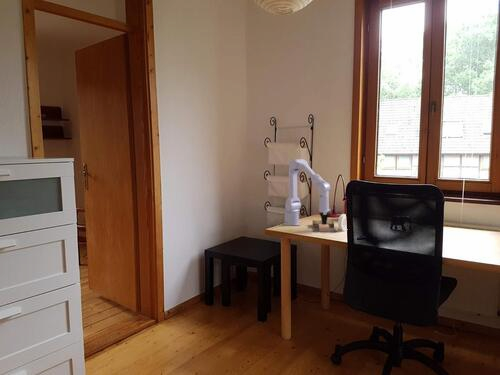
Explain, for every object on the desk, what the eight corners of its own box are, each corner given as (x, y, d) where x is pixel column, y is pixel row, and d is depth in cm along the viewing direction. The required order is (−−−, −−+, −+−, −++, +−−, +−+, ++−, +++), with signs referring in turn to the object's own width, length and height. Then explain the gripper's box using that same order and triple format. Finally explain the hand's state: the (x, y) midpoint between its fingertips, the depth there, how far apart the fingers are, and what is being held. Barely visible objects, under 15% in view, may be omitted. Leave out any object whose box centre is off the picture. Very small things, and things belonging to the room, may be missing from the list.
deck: (313, 228, 245) (313, 223, 245) (312, 224, 256) (312, 220, 256) (334, 228, 244) (334, 223, 243) (332, 224, 255) (332, 220, 254)
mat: (313, 232, 235) (313, 231, 235) (312, 228, 244) (312, 228, 244) (336, 232, 233) (336, 231, 233) (335, 228, 243) (335, 228, 243)
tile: (319, 231, 235) (319, 227, 235) (318, 228, 244) (318, 224, 244) (329, 231, 234) (329, 227, 234) (328, 228, 243) (328, 224, 243)
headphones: (341, 232, 232) (341, 215, 231) (338, 231, 234) (338, 215, 233) (358, 226, 249) (358, 210, 248) (354, 225, 250) (354, 210, 249)
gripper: (331, 204, 230) (331, 226, 231) (329, 200, 244) (329, 222, 245) (319, 204, 231) (319, 226, 232) (318, 200, 245) (318, 222, 246)
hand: (324, 224), depth 239 cm, fingers closed
